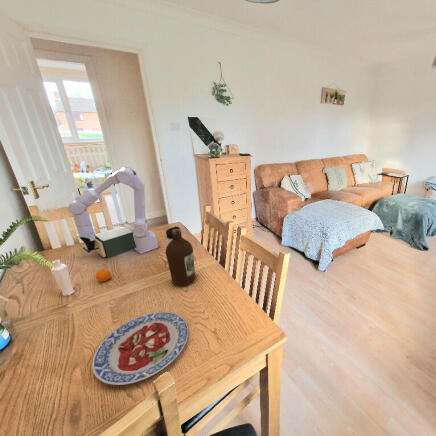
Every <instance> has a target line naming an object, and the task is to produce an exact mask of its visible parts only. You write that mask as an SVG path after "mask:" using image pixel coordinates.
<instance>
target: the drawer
mask: <svg viewBox="0 0 436 436" xmlns="http://www.w3.org/2000/svg"><path fill="white" fill-rule="evenodd" d="M82 249H83V250H84V251H85V252H86V253H88V254H90V253H92V252H94V251H95V252H96V253H97V254H99V256H101V257H103V258H105V257H106V254H105V252H106V251H105V248H104V244H103V242H102V241H101V240H99V239H96V240H95V249H92V250H89V249H88V248H87V246H83V247H82Z"/></svg>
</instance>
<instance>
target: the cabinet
mask: <svg viewBox="0 0 436 436" xmlns="http://www.w3.org/2000/svg"><path fill="white" fill-rule="evenodd" d="M95 236H96V239H99V240H101V241H102V242H103V244H104V248H105V251H106V252H105V254H106V256H105V257H106V258H107V259H108V258H111V257H115V256H117V255H119V254H122V253H126V252H128V251H131V250H135V249H134V248H137V245H136V241H135V237H134V234H133V230H130V229H128V228H127V227H125V226H119V227H116V228H112V229H108V230H105V231H102V232H98V233H95Z"/></svg>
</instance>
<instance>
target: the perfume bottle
mask: <svg viewBox="0 0 436 436" xmlns="http://www.w3.org/2000/svg"><path fill="white" fill-rule="evenodd" d="M52 264H53V267H52V268H51V269H50V272H51V274H52V276H53V277H54V280H55V281H56V283H57V285H58V286H59V288H60V291H61V292H62V296H63V297H65V296H70V295H72V294H73V293H75V292H76V291H75V289H74V288H73V284H72V280H71V276H70V272H69V269H68V266H67V265H66V264H64V263H61V260H60V259H56V260H53V261H52ZM54 266H55V267H54Z"/></svg>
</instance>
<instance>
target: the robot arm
mask: <svg viewBox="0 0 436 436" xmlns="http://www.w3.org/2000/svg"><path fill="white" fill-rule="evenodd" d="M120 184H123V185H126V186H129V187H130V188H131V189H133V204H134V206H133V207H134V226H133V229H132V232H133V235H134V239H135V244H136V248H134V249H133V250H134V251H136V252H138V253H139V254H140V255H141V254H142V255H143V254H144V253H148V252H150V251H153V250H155V249H158V248H159V243H158V239H157V234H155V232H154V231H153V230H150V231H149V229H148V228H149V223H148V222H147V218H146V193H145V192H146V191H145V190H146V188H145V183H144V181H143V180H142V178H141V177H140V176H139V175H138V173H137V171H135V170H134V169H132V168H131V167H128V166H123V167H121V168H120V169H119V170H116V171H115V172H113V173H112V174H110V175H108V177H106V178H105V179H104V180H102V181H101V182H100V183H99V184H97V186H96V187H95V188H88V189H84V190H83V191H82V194H80V195H79V196H76V197H75V198H74V200H73V201H71V203H69V204H68V207H67V210H68V211H69V213H70V214H71V215H72V217H73V221H74V224H75V227H76V230H77V234H75V237H77V238H79V239H80V240H81V241H82V242H83V243H84V244H85V247H87V248H88V249H89V250H92V249H95V240H96V236H95V234H96V231H95V230H94V227H93V224H92V221H91V217H90V214H89V212H88V211H89V210H88V208H90V207H91V206H92V205H93V204H94V203H96V202H97V201H98V200H100V199H101V194H102V193H103V192H104V191H106V190H107V189H108V188H110V187H111V186H113V185H120Z"/></svg>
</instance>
